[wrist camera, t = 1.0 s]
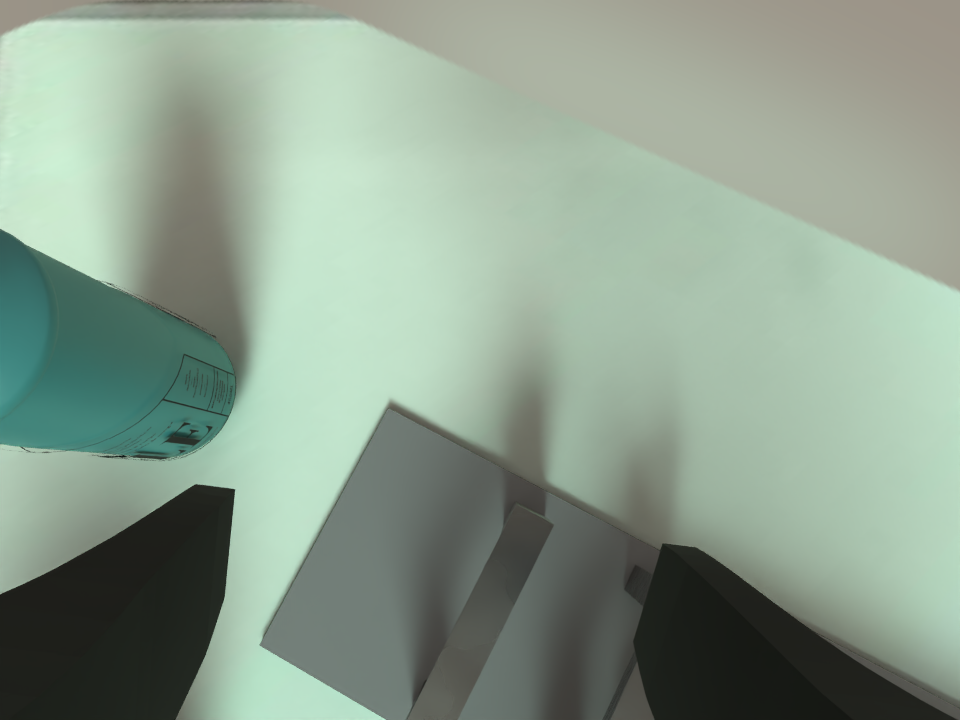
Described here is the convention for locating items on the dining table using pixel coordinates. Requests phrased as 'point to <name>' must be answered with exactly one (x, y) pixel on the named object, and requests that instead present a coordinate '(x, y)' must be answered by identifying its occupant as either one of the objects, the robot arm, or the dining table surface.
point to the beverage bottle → (101, 366)
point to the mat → (465, 589)
